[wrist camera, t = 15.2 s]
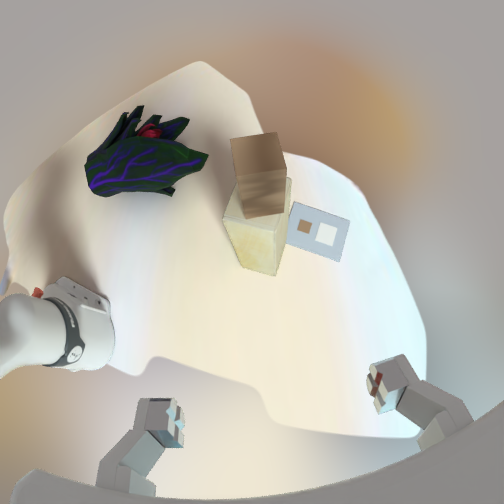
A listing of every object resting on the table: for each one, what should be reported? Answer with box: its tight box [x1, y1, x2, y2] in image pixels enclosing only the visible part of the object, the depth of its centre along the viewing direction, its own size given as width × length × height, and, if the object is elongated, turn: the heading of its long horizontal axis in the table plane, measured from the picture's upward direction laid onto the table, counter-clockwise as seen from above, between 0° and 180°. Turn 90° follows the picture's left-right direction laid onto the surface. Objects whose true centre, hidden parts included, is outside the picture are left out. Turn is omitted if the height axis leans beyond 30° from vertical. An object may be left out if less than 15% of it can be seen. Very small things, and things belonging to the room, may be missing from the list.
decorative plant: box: [84, 105, 209, 197], centre depth 51 cm, size 21×26×30 cm
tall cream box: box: [222, 177, 292, 276], centre depth 43 cm, size 8×7×21 cm
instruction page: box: [286, 202, 350, 262], centre depth 54 cm, size 12×9×1 cm
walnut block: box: [230, 132, 287, 219], centre depth 29 cm, size 4×4×9 cm
